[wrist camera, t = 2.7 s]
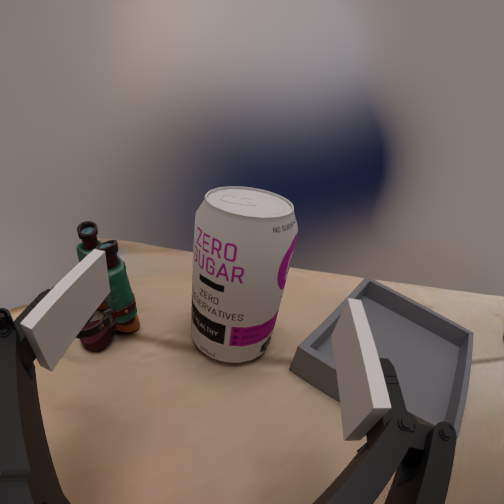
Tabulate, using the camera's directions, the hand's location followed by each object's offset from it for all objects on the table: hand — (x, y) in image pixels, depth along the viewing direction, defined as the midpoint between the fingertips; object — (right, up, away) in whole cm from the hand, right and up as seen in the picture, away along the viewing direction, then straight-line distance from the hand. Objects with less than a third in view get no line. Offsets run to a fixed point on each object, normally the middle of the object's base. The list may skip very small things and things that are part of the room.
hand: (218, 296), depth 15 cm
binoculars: (-15, -6, +12) cm, 21 cm away
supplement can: (-1, -7, +15) cm, 16 cm away
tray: (+18, -10, +14) cm, 25 cm away
